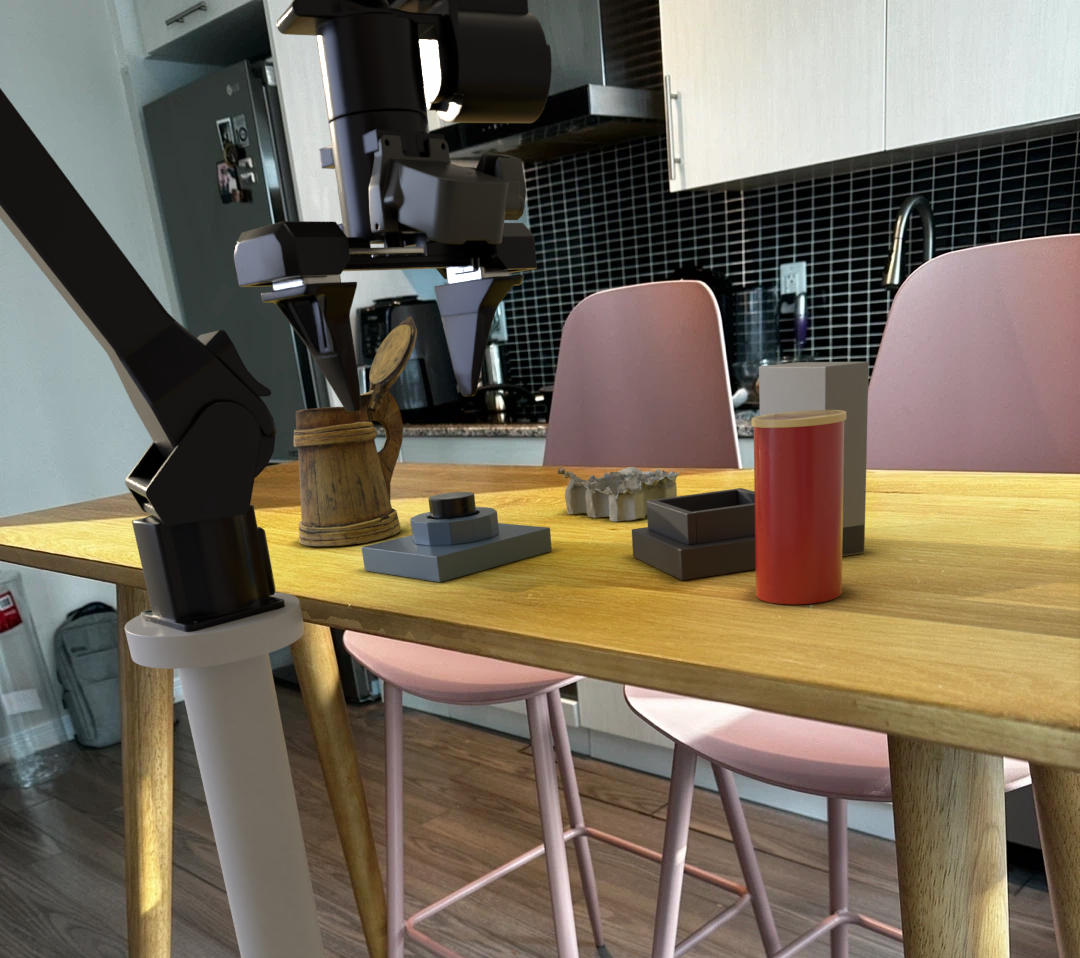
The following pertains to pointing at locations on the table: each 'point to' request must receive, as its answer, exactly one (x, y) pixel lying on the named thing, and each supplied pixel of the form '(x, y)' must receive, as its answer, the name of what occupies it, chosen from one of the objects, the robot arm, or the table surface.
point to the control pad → (455, 546)
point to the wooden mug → (353, 456)
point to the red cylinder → (799, 505)
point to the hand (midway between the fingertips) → (413, 403)
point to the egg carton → (618, 493)
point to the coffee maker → (729, 515)
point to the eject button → (452, 505)
